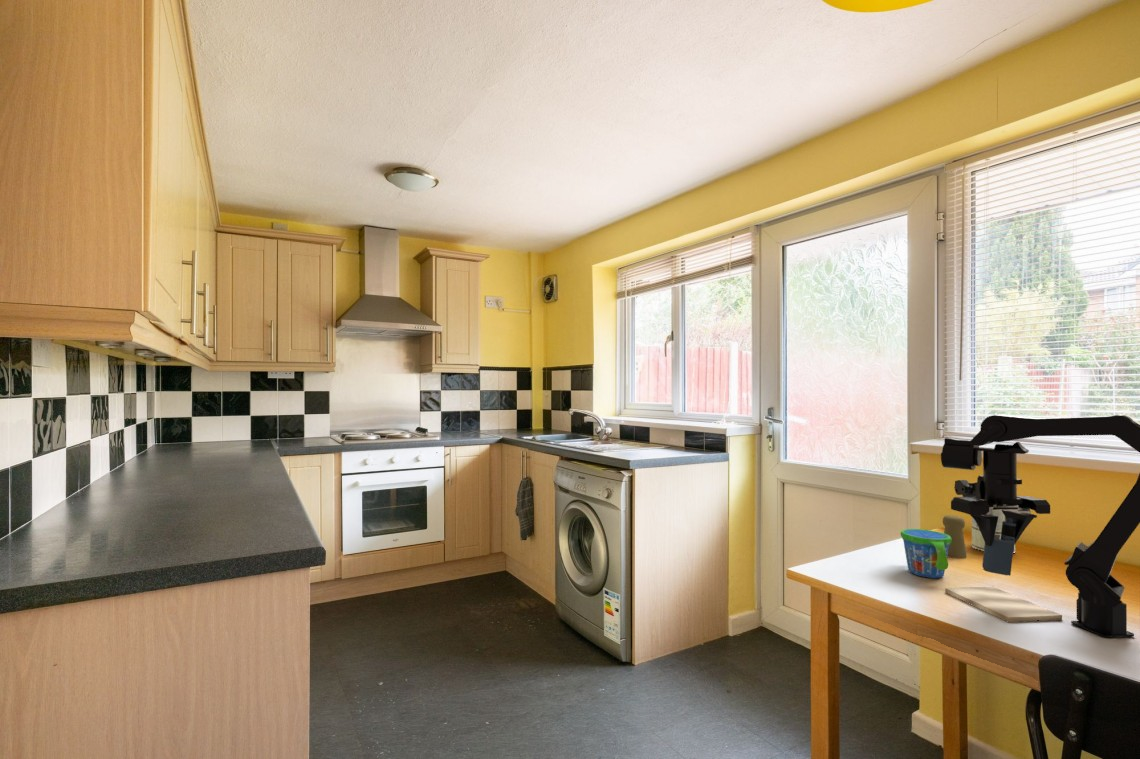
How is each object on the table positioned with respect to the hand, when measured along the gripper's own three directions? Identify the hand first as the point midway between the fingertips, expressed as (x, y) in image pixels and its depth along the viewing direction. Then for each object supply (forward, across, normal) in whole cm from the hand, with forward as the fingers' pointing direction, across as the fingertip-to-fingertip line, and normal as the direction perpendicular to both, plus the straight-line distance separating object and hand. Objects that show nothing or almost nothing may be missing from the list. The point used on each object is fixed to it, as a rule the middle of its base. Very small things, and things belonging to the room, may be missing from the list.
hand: (1000, 545), depth 118 cm
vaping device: (+6, +1, 0) cm, 6 cm away
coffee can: (+13, -35, -38) cm, 53 cm away
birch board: (+13, 0, 0) cm, 13 cm away
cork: (+13, -19, -34) cm, 41 cm away
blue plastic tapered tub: (+13, +1, -20) cm, 24 cm away
